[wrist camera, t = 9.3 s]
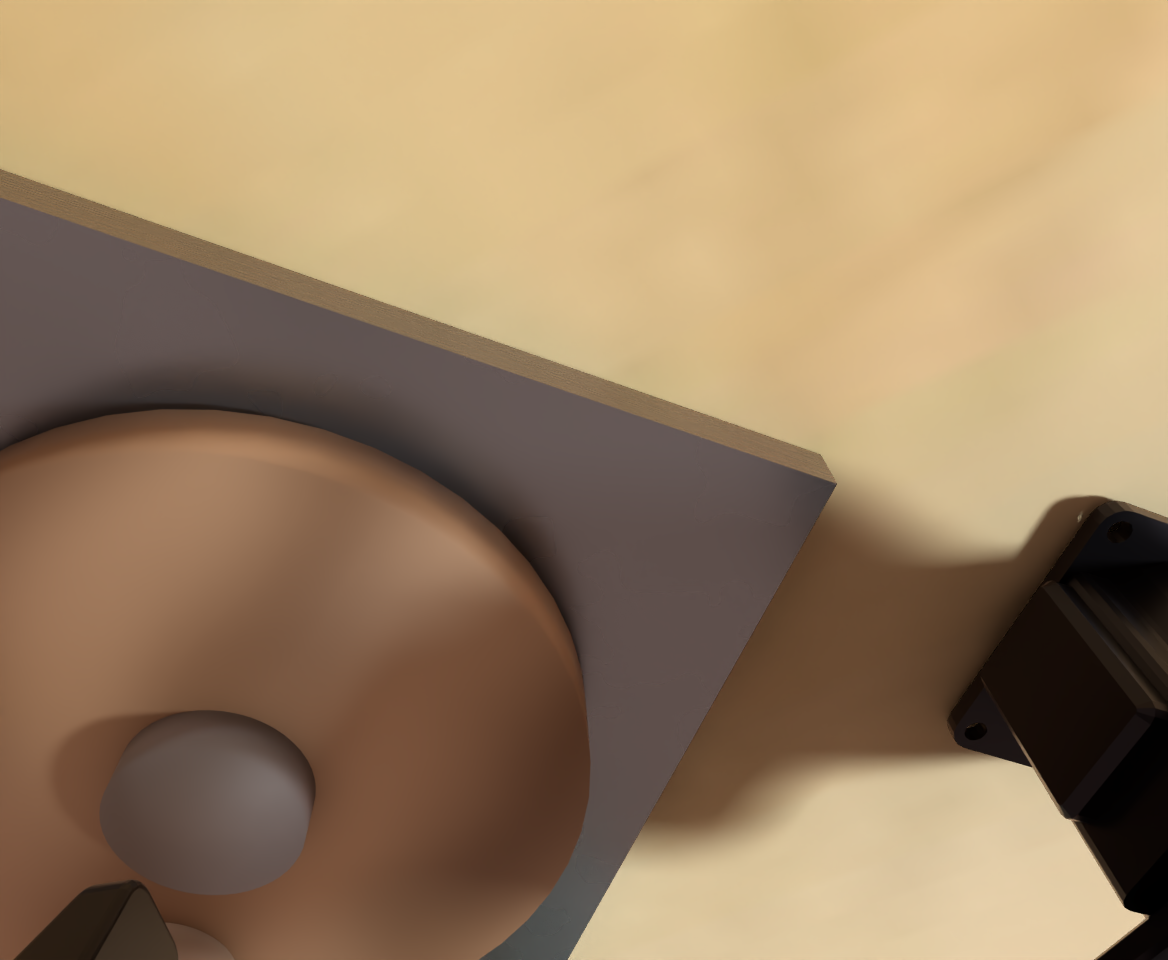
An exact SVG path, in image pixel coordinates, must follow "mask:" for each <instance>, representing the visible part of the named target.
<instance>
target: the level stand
mask: <svg viewBox="0 0 1168 960" xmlns="http://www.w3.org/2000/svg"><path fill="white" fill-rule="evenodd" d="M159 409H178V410H221V411H229V412H237V413H245V414H253V415H262V416H270V417H274V418H278V419H282V420H287V421H291V422H295V423H299V424H303V425H307V426H312V427H316V428H320V429H324V430H327V431H330V432H332V433H335V434H338V435H341V436H343V437H346V438H349V439H351V440H354V441H357V442H360V443H362V444H365V445H368V446H371V447H373V448H376V449H378V450H380V451H382V452H384V453H386V454H388V455H390V456H392V457H394V458H396V459H398V460H400V461H402V462H404V463H406V464H408V465H410V466H412V467H414V468H416V469H418V470H420V471H422V472H423V473H425V474H426V475H428V476H429V477H431V478H432V479H434V480H435V481H437V482H439V483H440V484H442V485H443V486H445V487H446V488H448V489H449V490H451V491H452V492H454V493H455V494H457V495H458V496H460V497H461V498H463V499H464V500H465V501H467V502H468V503H469V504H470V505H471V506H472V507H474V508H475V509H476V510H477V511H478V512H479V513H481V514H482V515H483V516H484V517H485V518H486V519H488V520H489V521H490V522H491V523H492V524H493V525H495V526H496V527H497V528H498V529H499V530H500V531H501V532H502V533H503V534H504V535H505V536H506V537H507V538H508V540H509V541H510V542H511V543H512V544H513V545H514V546H515V547H516V548H517V549H518V551H519V552H520V553H521V554H522V555H523V556H524V557H525V558H526V559H527V561H528V562H529V563H530V564H531V566H532V567H533V569H534V570H535V571H536V573H537V574H538V576H539V577H540V579H541V580H542V582H543V583H544V585H545V586H546V588H547V589H548V591H549V592H550V594H551V595H552V597H553V598H554V600H555V602H556V604H557V606H558V608H559V610H560V613H561V615H562V617H563V619H564V621H565V623H566V625H567V627H568V629H569V631H570V633H571V636H572V640H573V643H574V646H575V650H576V653H577V656H578V660H579V663H580V666H581V670H582V677H583V684H584V692H585V700H586V709H587V722H588V735H589V747H590V760H591V765H590V787H589V800H588V804H587V809H586V813H585V818H584V822H583V827H582V831H581V834H580V836H579V839H578V841H577V844H576V846H575V848H574V851H573V853H572V856H571V858H570V861H569V863H568V865H567V866H566V868H565V870H564V871H563V873H562V875H561V876H560V878H559V880H558V881H557V883H556V884H555V886H554V888H553V889H552V891H551V893H550V894H549V895H548V896H547V897H546V899H545V900H544V901H543V902H542V903H541V905H540V906H539V907H538V908H537V909H536V911H535V912H534V913H533V914H532V915H531V917H530V918H529V919H528V920H527V921H526V922H525V923H524V924H523V925H521V926H520V927H519V928H518V929H517V930H516V931H515V932H514V933H513V934H511V935H510V936H509V937H508V938H507V939H506V940H505V941H504V942H503V943H502V944H500V945H499V946H497V947H496V948H494V949H493V950H492V951H490V952H489V953H487V954H486V955H484V956H483V957H482V958H480V959H479V960H568V958H569V956H570V954H571V953H572V951H573V949H574V947H575V946H576V944H577V942H578V940H579V938H580V937H581V935H582V933H583V931H584V930H585V928H586V926H587V924H588V923H589V921H590V919H591V917H592V916H593V914H594V912H595V910H596V908H597V907H598V905H599V903H600V901H601V900H602V898H603V896H604V894H605V893H606V891H607V889H608V887H609V886H610V884H611V882H612V880H613V878H614V877H615V875H616V873H617V871H618V870H619V868H620V866H621V864H622V863H623V861H624V859H625V857H626V856H627V854H628V852H629V850H630V848H631V847H632V845H633V843H634V841H635V840H636V838H637V836H638V834H639V833H640V831H641V829H642V827H643V826H644V824H645V822H646V820H647V818H648V817H649V815H650V813H651V811H652V810H653V808H654V806H655V804H656V803H657V801H658V799H659V797H660V796H661V794H662V792H663V790H664V788H665V787H666V785H667V783H668V781H669V780H670V778H671V776H672V774H673V773H674V771H675V769H676V767H677V766H678V764H679V762H680V760H681V758H682V757H683V755H684V753H685V751H686V750H687V748H688V746H689V744H690V743H691V741H692V739H693V737H694V736H695V734H696V732H697V730H698V728H699V727H700V725H701V723H702V721H703V720H704V718H705V716H706V714H707V713H708V711H709V709H710V707H711V706H712V704H713V702H714V700H715V698H716V697H717V695H718V693H719V691H720V690H721V688H722V686H723V684H724V683H725V681H726V679H727V677H728V675H729V674H730V672H731V670H732V668H733V667H734V665H735V663H736V661H737V660H738V658H739V656H740V654H741V653H742V651H743V649H744V647H745V645H746V644H747V642H748V640H749V638H750V637H751V635H752V633H753V631H754V630H755V628H756V626H757V624H758V623H759V621H760V619H761V617H762V615H763V614H764V612H765V610H766V608H767V607H768V605H769V603H770V601H771V600H772V598H773V596H774V594H775V593H776V591H777V589H778V587H779V585H780V584H781V582H782V580H783V578H784V577H785V575H786V573H787V571H788V570H789V568H790V566H791V564H792V563H793V561H794V559H795V557H796V555H797V554H798V552H799V550H800V548H801V547H802V545H803V543H804V541H805V540H806V538H807V536H808V534H809V533H810V531H811V529H812V527H813V525H814V524H815V522H816V520H817V518H818V517H819V515H820V513H821V511H822V510H823V508H824V506H825V504H826V503H827V501H828V499H829V497H830V495H831V494H832V492H833V490H834V488H835V487H836V485H837V483H836V481H835V479H834V477H833V476H832V474H831V472H830V470H829V469H828V467H827V465H826V463H825V461H824V460H823V458H822V456H821V455H820V454H817V453H814V452H811V451H808V450H806V449H803V448H800V447H797V446H794V445H791V444H788V443H785V442H783V441H780V440H777V439H774V438H771V437H768V436H765V435H762V434H760V433H757V432H754V431H751V430H748V429H745V428H742V427H739V426H737V425H734V424H731V423H728V422H725V421H722V420H719V419H716V418H714V417H711V416H708V415H705V414H702V413H699V412H696V411H693V410H691V409H688V408H685V407H682V406H679V405H676V404H673V403H670V402H668V401H665V400H662V399H659V398H656V397H653V396H650V395H647V394H645V393H642V392H639V391H636V390H633V389H630V388H627V387H624V386H622V385H619V384H616V383H613V382H610V381H607V380H604V379H601V378H599V377H596V376H593V375H590V374H587V373H584V372H581V371H578V370H576V369H573V368H570V367H567V366H564V365H561V364H558V363H555V362H553V361H550V360H547V359H544V358H541V357H538V356H535V355H532V354H530V353H527V352H524V351H521V350H518V349H515V348H512V347H509V346H507V345H504V344H501V343H498V342H495V341H492V340H489V339H486V338H484V337H481V336H478V335H475V334H472V333H469V332H466V331H463V330H461V329H458V328H455V327H452V326H449V325H446V324H443V323H440V322H438V321H435V320H432V319H429V318H426V317H423V316H420V315H417V314H415V313H412V312H409V311H406V310H403V309H400V308H397V307H394V306H392V305H389V304H386V303H383V302H380V301H377V300H374V299H371V298H369V297H366V296H363V295H360V294H357V293H354V292H351V291H348V290H346V289H343V288H340V287H337V286H334V285H331V284H328V283H325V282H323V281H320V280H317V279H314V278H311V277H308V276H305V275H302V274H300V273H297V272H294V271H291V270H288V269H285V268H282V267H279V266H277V265H274V264H271V263H268V262H265V261H262V260H259V259H256V258H254V257H251V256H248V255H245V254H242V253H239V252H236V251H233V250H231V249H228V248H225V247H222V246H219V245H216V244H213V243H210V242H208V241H205V240H202V239H199V238H196V237H193V236H190V235H187V234H185V233H182V232H179V231H176V230H173V229H170V228H167V227H164V226H162V225H159V224H156V223H153V222H150V221H147V220H144V219H141V218H139V217H136V216H133V215H130V214H127V213H124V212H121V211H118V210H116V209H113V208H110V207H107V206H104V205H101V204H98V203H95V202H93V201H90V200H87V199H84V198H81V197H78V196H75V195H72V194H70V193H67V192H64V191H61V190H58V189H55V188H52V187H49V186H47V185H44V184H41V183H38V182H35V181H32V180H29V179H26V178H24V177H21V176H18V175H15V174H12V173H9V172H6V171H3V170H1V169H0V451H1V450H3V449H5V448H6V447H8V446H10V445H13V444H15V443H18V442H20V441H23V440H26V439H28V438H31V437H33V436H36V435H38V434H41V433H43V432H46V431H49V430H51V429H54V428H57V427H61V426H65V425H69V424H73V423H77V422H81V421H85V420H90V419H94V418H98V417H102V416H106V415H114V414H123V413H132V412H141V411H150V410H159Z"/></svg>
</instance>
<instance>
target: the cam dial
mask: <svg viewBox="0 0 1168 960" xmlns="http://www.w3.org/2000/svg"><path fill="white" fill-rule="evenodd" d="M590 765H591V760H590V747H589V735H588V722H587V709H586V700H585V692H584V684H583V677H582V670H581V666H580V663H579V660H578V656H577V653H576V650H575V646H574V643H573V640H572V636H571V633H570V631H569V629H568V627H567V625H566V623H565V621H564V619H563V617H562V615H561V613H560V610H559V608H558V606H557V604H556V602H555V600H554V598H553V597H552V595H551V594H550V592H549V591H548V589H547V588H546V586H545V585H544V583H543V582H542V580H541V579H540V577H539V576H538V574H537V573H536V571H535V570H534V569H533V567H532V566H531V564H530V563H529V562H528V561H527V559H526V558H525V557H524V556H523V555H522V554H521V553H520V552H519V551H518V549H517V548H516V547H515V546H514V545H513V544H512V543H511V542H510V541H509V540H508V538H507V537H506V536H505V535H504V534H503V533H502V532H501V531H500V530H499V529H498V528H497V527H496V526H495V525H493V524H492V523H491V522H490V521H489V520H488V519H486V518H485V517H484V516H483V515H482V514H481V513H479V512H478V511H477V510H476V509H475V508H474V507H472V506H471V505H470V504H469V503H468V502H467V501H465V500H464V499H463V498H461V497H460V496H458V495H457V494H455V493H454V492H452V491H451V490H449V489H448V488H446V487H445V486H443V485H442V484H440V483H439V482H437V481H435V480H434V479H432V478H431V477H429V476H428V475H426V474H425V473H423V472H422V471H420V470H418V469H416V468H414V467H412V466H410V465H408V464H406V463H404V462H402V461H400V460H398V459H396V458H394V457H392V456H390V455H388V454H386V453H384V452H382V451H380V450H378V449H376V448H373V447H371V446H368V445H365V444H362V443H360V442H357V441H354V440H351V439H349V438H346V437H343V436H341V435H338V434H335V433H332V432H330V431H327V430H324V429H320V428H316V427H312V426H307V425H303V424H299V423H295V422H291V421H287V420H282V419H278V418H274V417H270V416H262V415H253V414H245V413H237V412H229V411H221V410H178V409H159V410H150V411H141V412H132V413H123V414H114V415H106V416H102V417H98V418H94V419H90V420H85V421H81V422H77V423H73V424H69V425H65V426H61V427H57V428H54V429H51V430H49V431H46V432H43V433H41V434H38V435H36V436H33V437H31V438H28V439H26V440H23V441H20V442H18V443H15V444H13V445H10V446H8V447H6V448H5V449H3V450H1V451H0V960H13V959H14V958H15V957H16V956H17V955H18V954H19V953H20V952H21V951H22V950H23V949H24V948H25V947H26V946H27V945H28V944H29V943H30V942H31V941H32V940H33V939H34V938H35V937H36V936H37V935H38V934H39V933H40V932H41V931H42V930H43V929H44V928H45V927H46V926H47V925H48V924H49V923H50V922H51V921H52V920H53V919H54V918H55V917H56V916H57V915H58V914H59V913H60V912H61V911H62V910H63V909H64V908H65V907H66V906H67V905H68V904H69V903H70V902H71V901H72V900H73V899H74V898H75V897H76V896H77V895H78V894H79V893H80V892H82V891H83V890H84V889H86V888H87V887H90V886H92V885H96V884H103V883H109V882H116V881H123V880H130V879H133V880H138V881H140V882H142V883H143V884H144V885H145V886H146V887H147V889H148V890H149V892H150V894H151V896H152V898H153V900H154V902H155V904H156V906H157V908H158V910H159V912H160V914H161V916H162V918H163V920H164V922H165V923H166V925H167V927H168V929H169V931H170V933H171V935H172V937H173V939H174V942H175V944H176V948H177V952H178V960H479V959H480V958H482V957H483V956H484V955H486V954H487V953H489V952H490V951H492V950H493V949H494V948H496V947H497V946H499V945H500V944H502V943H503V942H504V941H505V940H506V939H507V938H508V937H509V936H510V935H511V934H513V933H514V932H515V931H516V930H517V929H518V928H519V927H520V926H521V925H523V924H524V923H525V922H526V921H527V920H528V919H529V918H530V917H531V915H532V914H533V913H534V912H535V911H536V909H537V908H538V907H539V906H540V905H541V903H542V902H543V901H544V900H545V899H546V897H547V896H548V895H549V894H550V893H551V891H552V889H553V888H554V886H555V884H556V883H557V881H558V880H559V878H560V876H561V875H562V873H563V871H564V870H565V868H566V866H567V865H568V863H569V861H570V858H571V856H572V853H573V851H574V848H575V846H576V844H577V841H578V839H579V836H580V834H581V831H582V827H583V822H584V818H585V813H586V809H587V804H588V800H589V787H590Z"/></svg>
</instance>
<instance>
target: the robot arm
mask: <svg viewBox="0 0 1168 960" xmlns="http://www.w3.org/2000/svg"><path fill="white" fill-rule="evenodd" d="M1120 521H1122V523H1121V526H1120V527H1119V528H1118V529H1116V530H1115V531H1113V532H1110V533H1108V530H1109V528H1110V527H1111V526H1112V525H1114V524H1115V523H1118V522H1120ZM947 722H948V728H949V730H950V732H951V734H952V736H953V738H954V740H955V741H956V742H957V744H958V745H960V746H962V747H964V748H967V749H971V750H974V751H977V752H981V753H984V754H988V755H991V756H995V757H998V758H1002V759H1005V760H1009V761H1012V762H1016V763H1019V764H1022V765H1026V766H1029V767H1033V769H1034V770H1035V772H1036V774H1037V775H1038V777H1039V779H1040V780H1041V782H1042V784H1043V785H1044V787H1045V789H1046V790H1047V792H1048V794H1049V795H1050V797H1051V799H1052V800H1053V802H1054V804H1055V805H1056V807H1057V809H1058V810H1059V812H1060V813H1061V815H1063V816H1064V817H1065V818H1066V819H1070V820H1071V821H1072V822H1073V824H1074V825H1075V827H1076V829H1077V830H1078V832H1079V834H1080V835H1081V837H1082V839H1083V840H1084V842H1085V844H1086V845H1087V847H1088V848H1089V850H1090V852H1091V853H1092V855H1093V857H1094V858H1095V860H1096V862H1097V863H1098V865H1099V866H1100V868H1101V870H1102V871H1103V873H1104V875H1105V876H1106V878H1107V880H1108V881H1109V883H1110V885H1111V886H1112V888H1113V889H1114V891H1115V893H1116V894H1117V896H1118V898H1119V899H1120V901H1121V903H1122V904H1123V906H1124V907H1125V908H1126V909H1128V910H1130V911H1133V912H1137V913H1141V914H1143V915H1144V917H1145V918H1146V919H1145V920H1144V921H1142V922H1141V923H1140V924H1139V925H1137V926H1136V927H1135V928H1134V929H1132V930H1131V931H1130V932H1128V933H1127V934H1126V935H1125V936H1123V937H1122V938H1121V939H1120V940H1118V941H1117V942H1116V943H1115V944H1113V945H1112V946H1111V947H1109V948H1108V949H1107V950H1106V951H1104V952H1103V953H1102V954H1101V955H1099V956H1098V957H1097V958H1096V959H1094V960H1168V518H1167V517H1164V516H1161V515H1159V514H1156V513H1153V512H1150V511H1148V510H1145V509H1142V508H1139V507H1137V506H1134V505H1131V504H1128V503H1126V502H1120V501H1112V502H1107V503H1105V504H1103V505H1101V506H1099V507H1097V508H1096V509H1095V510H1094V511H1093V512H1092V513H1091V514H1090V515H1089V517H1088V518H1087V520H1086V521H1085V522H1084V524H1083V525H1082V527H1081V528H1080V530H1079V531H1078V532H1077V534H1076V535H1075V537H1074V538H1073V540H1072V541H1071V542H1070V544H1069V545H1068V547H1067V548H1066V550H1065V551H1064V552H1063V554H1062V555H1061V557H1060V558H1059V560H1058V561H1057V562H1056V564H1055V565H1054V567H1053V568H1052V570H1051V571H1050V572H1049V574H1048V575H1047V577H1046V578H1045V580H1044V581H1043V582H1042V584H1041V585H1040V587H1039V588H1038V590H1037V591H1036V592H1035V594H1034V595H1033V597H1032V598H1031V599H1030V601H1029V602H1028V604H1027V605H1026V607H1025V608H1024V609H1023V611H1022V612H1021V614H1020V615H1019V617H1018V618H1017V619H1016V621H1015V622H1014V624H1013V625H1012V627H1011V628H1010V629H1009V631H1008V632H1007V634H1006V635H1005V637H1004V638H1003V639H1002V641H1001V642H1000V644H999V645H998V647H997V648H996V649H995V651H994V652H993V654H992V655H991V657H990V658H989V659H988V661H987V662H986V664H985V665H984V667H983V668H982V669H981V671H980V672H979V674H978V675H977V677H976V678H975V679H974V681H973V682H972V684H971V685H970V686H969V688H968V689H967V691H966V692H965V694H964V695H963V696H962V698H961V699H960V701H959V702H958V704H957V705H956V706H955V708H954V709H953V711H952V712H951V714H950V716H949V718H948V720H947ZM974 723H978V724H976V725H975V726H974V727H971V728H967V727H968V726H970V725H971V724H974ZM13 960H178V952H177V948H176V944H175V942H174V939H173V937H172V935H171V933H170V931H169V929H168V927H167V925H166V923H165V922H164V920H163V918H162V916H161V914H160V912H159V910H158V908H157V906H156V904H155V902H154V900H153V898H152V896H151V894H150V892H149V890H148V889H147V887H146V886H145V885H144V884H143V883H142V882H140V881H138V880H133V879H130V880H123V881H116V882H109V883H103V884H96V885H92V886H90V887H87V888H86V889H84V890H83V891H82V892H80V893H79V894H78V895H77V896H76V897H75V898H74V899H73V900H72V901H71V902H70V903H69V904H68V905H67V906H66V907H65V908H64V909H63V910H62V911H61V912H60V913H59V914H58V915H57V916H56V917H55V918H54V919H53V920H52V921H51V922H50V923H49V924H48V925H47V926H46V927H45V928H44V929H43V930H42V931H41V932H40V933H39V934H38V935H37V936H36V937H35V938H34V939H33V940H32V941H31V942H30V943H29V944H28V945H27V946H26V947H25V948H24V949H23V950H22V951H21V952H20V953H19V954H18V955H17V956H16V957H15V958H14V959H13Z"/></svg>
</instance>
